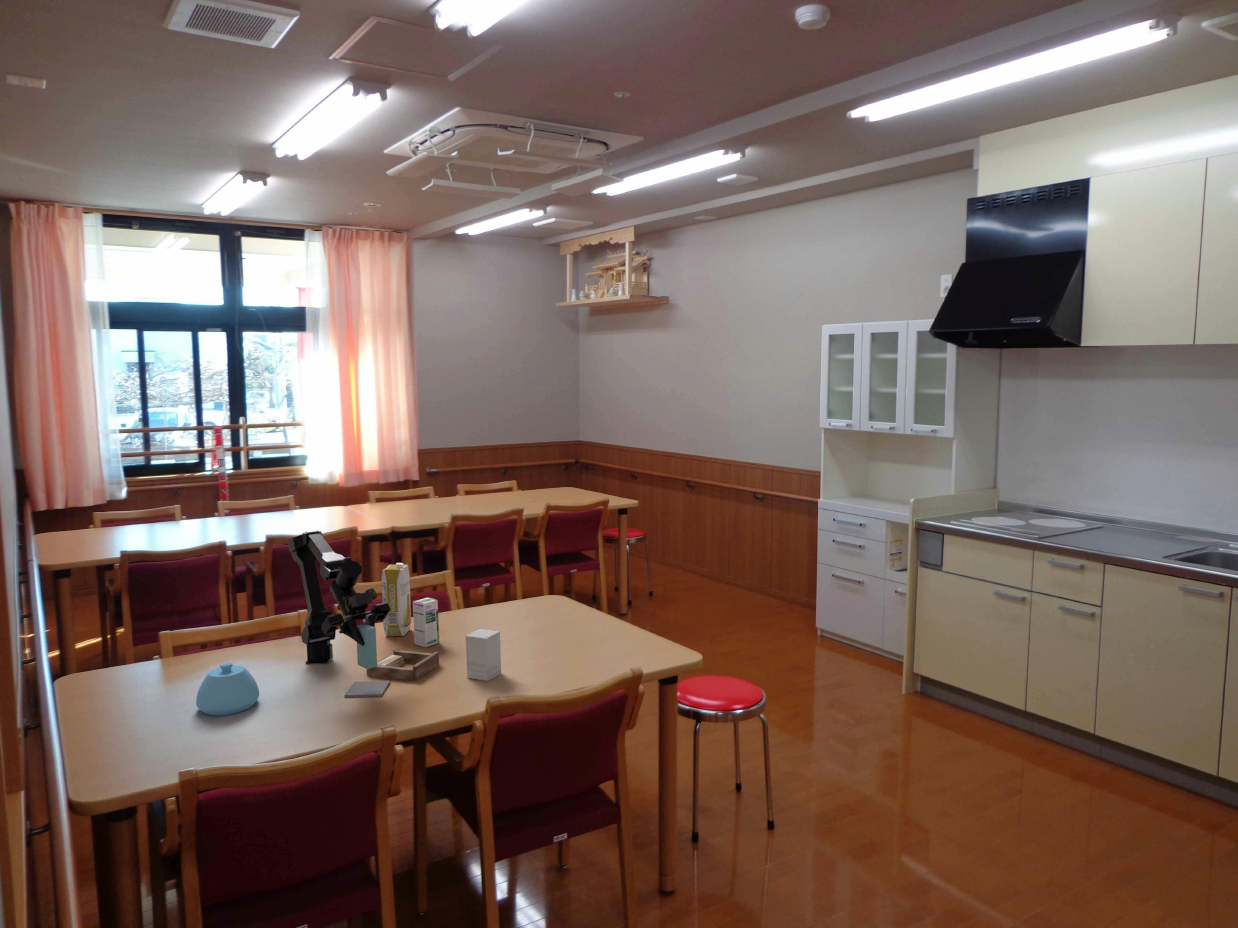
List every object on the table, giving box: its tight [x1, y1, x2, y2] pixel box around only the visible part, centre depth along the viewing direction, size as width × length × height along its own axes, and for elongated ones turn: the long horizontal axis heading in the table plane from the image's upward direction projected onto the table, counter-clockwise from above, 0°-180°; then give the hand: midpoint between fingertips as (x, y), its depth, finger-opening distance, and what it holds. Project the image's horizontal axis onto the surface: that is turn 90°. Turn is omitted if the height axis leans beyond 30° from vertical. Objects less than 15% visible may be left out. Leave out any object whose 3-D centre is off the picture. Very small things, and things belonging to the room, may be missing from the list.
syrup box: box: [412, 597, 440, 648], centre depth 266 cm, size 6×6×14 cm
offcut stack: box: [377, 655, 406, 667], centre depth 244 cm, size 4×10×3 cm, turn 164°
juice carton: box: [381, 562, 412, 637], centre depth 277 cm, size 9×8×24 cm
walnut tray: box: [366, 649, 440, 681], centre depth 243 cm, size 16×14×4 cm
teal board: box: [356, 623, 378, 670], centre depth 226 cm, size 5×3×11 cm, turn 48°
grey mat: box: [343, 680, 391, 698], centre depth 227 cm, size 10×10×1 cm
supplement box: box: [465, 628, 502, 682], centre depth 237 cm, size 7×7×13 cm
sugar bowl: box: [195, 662, 260, 717], centre depth 216 cm, size 15×15×12 cm
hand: (369, 643), depth 225 cm, fingers closed on teal board, 3 cm apart
